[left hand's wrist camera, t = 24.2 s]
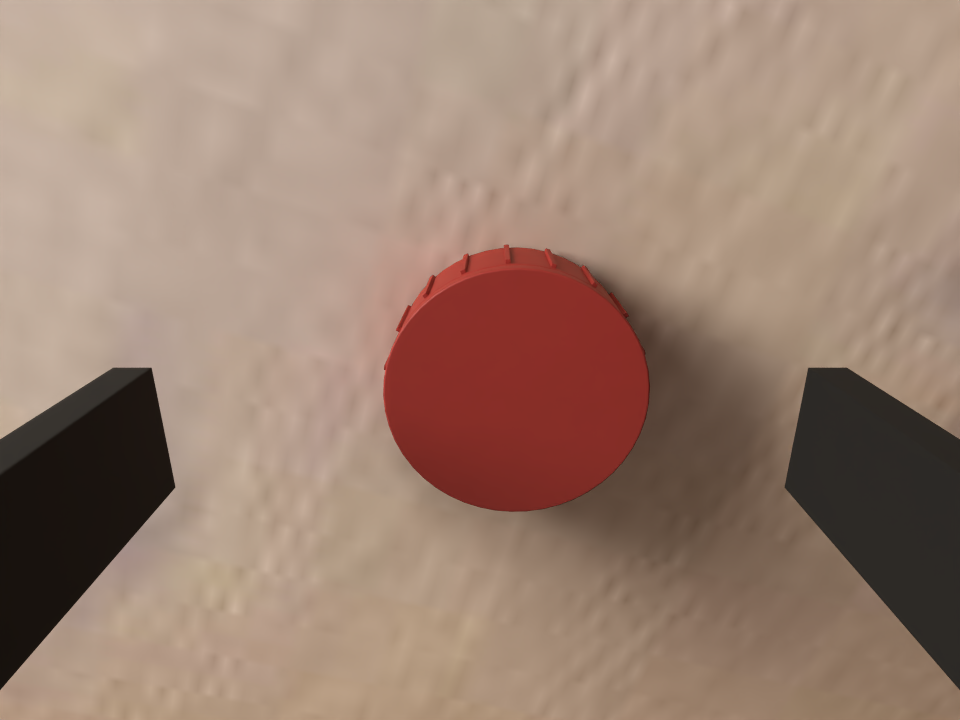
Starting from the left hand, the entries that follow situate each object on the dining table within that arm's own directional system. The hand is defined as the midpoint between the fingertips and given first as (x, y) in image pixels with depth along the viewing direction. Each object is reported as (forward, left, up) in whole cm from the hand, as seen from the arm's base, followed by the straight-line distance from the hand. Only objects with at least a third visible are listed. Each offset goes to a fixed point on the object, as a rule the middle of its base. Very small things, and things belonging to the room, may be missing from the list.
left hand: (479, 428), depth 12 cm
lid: (+1, 0, -1) cm, 1 cm away
